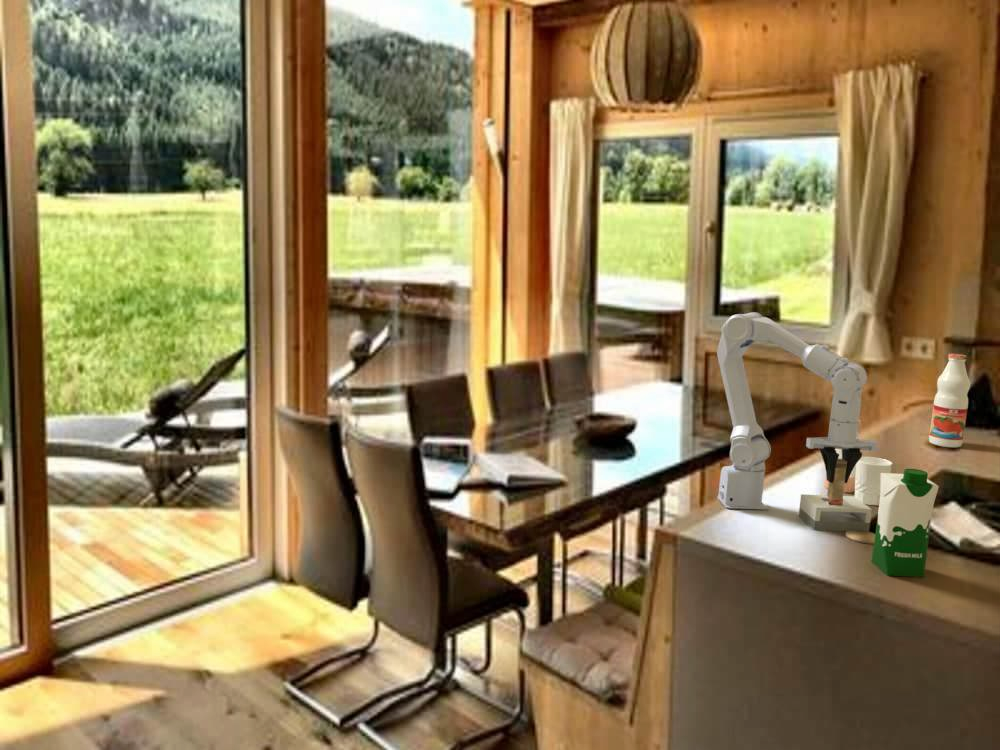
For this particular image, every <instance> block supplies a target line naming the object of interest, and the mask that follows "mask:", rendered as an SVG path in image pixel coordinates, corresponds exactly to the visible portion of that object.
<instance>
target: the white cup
mask: <svg viewBox="0 0 1000 750" xmlns="http://www.w3.org/2000/svg"><path fill="white" fill-rule="evenodd" d="M892 468H893V462H892V461H890V460H887V459H884V458H883V457H882V458H881V457H875V456H866V455H865V456H862V457H861V458H860V460H859V461H858V462H857V463H856V473H855V491H854V497H855V498H857V499H858V500H860V501H861V502H862V503H864V504H865V505H867V506H868V505H869V506H879V502H880V487H881V473H892Z"/></svg>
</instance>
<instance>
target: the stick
mask: <svg viewBox="0 0 1000 750" xmlns="http://www.w3.org/2000/svg"><path fill="white" fill-rule="evenodd" d="M846 468H847V462H846V461H845V460H843V459H838V460H837V464H836V468H835V478H834V481H833V483H831V482H829V485H828V489H827V497H829V498H830V499H831V500H843V496H844V493H845V492H844V483H845V475H846Z"/></svg>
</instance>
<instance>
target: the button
mask: <svg viewBox="0 0 1000 750" xmlns="http://www.w3.org/2000/svg"><path fill="white" fill-rule="evenodd" d="M827 504H828V505H843V506H844V503H843V500H831V499H830V498H829V500H828V502H827Z"/></svg>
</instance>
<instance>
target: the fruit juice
mask: <svg viewBox="0 0 1000 750" xmlns="http://www.w3.org/2000/svg"><path fill="white" fill-rule="evenodd" d="M947 359H948V362H947V364H946V366H945V368H944V370H943V372H942V373H941V374H940V375H939V376H938V378H937V382H936V386H937V392H936V394H935V396H934V399H933V405H932V406H933V407H932V412H931V414H932V415H931V419H930V420H931V421H930V427H929V434H928V442H929V443H930V444H932V445H935V446H939V447H943V448H961V447H962V446H963V442H964V435H965V428H966V422H967V414H968V408H969V407H968V406H969V397H968V393H969V390H970V389H971V380H970V379H969V376H968V372H967V369H966V364H965V363H966V361H967V355H965V354H960V353H948V357H947Z"/></svg>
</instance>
